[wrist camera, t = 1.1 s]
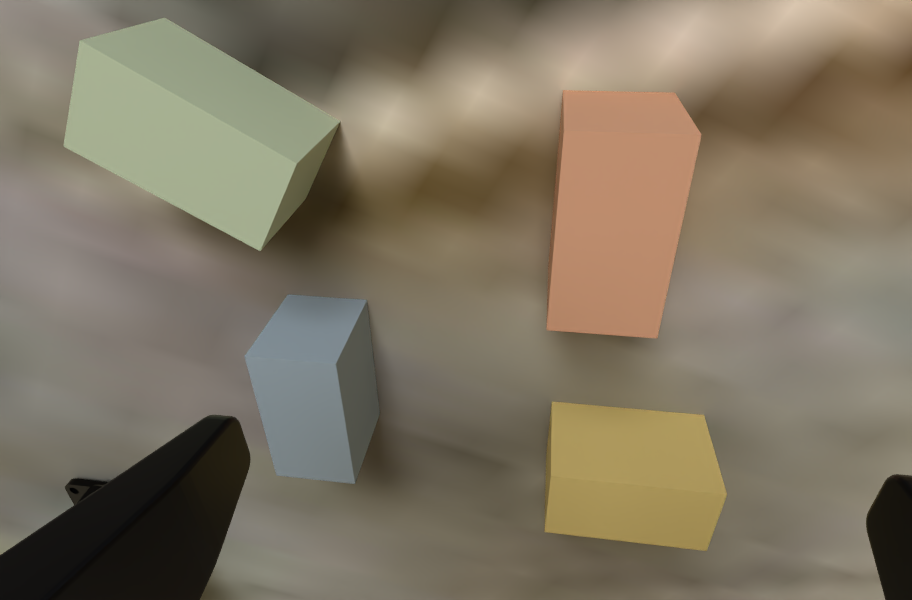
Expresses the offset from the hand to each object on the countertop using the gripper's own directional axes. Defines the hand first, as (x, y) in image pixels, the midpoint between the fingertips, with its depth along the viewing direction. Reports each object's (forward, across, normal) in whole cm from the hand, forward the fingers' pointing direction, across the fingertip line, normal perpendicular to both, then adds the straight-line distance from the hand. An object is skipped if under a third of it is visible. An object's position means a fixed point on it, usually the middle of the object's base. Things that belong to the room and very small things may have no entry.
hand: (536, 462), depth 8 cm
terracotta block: (+13, -2, +1) cm, 13 cm away
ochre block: (+13, -4, +12) cm, 18 cm away
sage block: (+13, +10, -1) cm, 16 cm away
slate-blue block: (+12, +8, +9) cm, 17 cm away
